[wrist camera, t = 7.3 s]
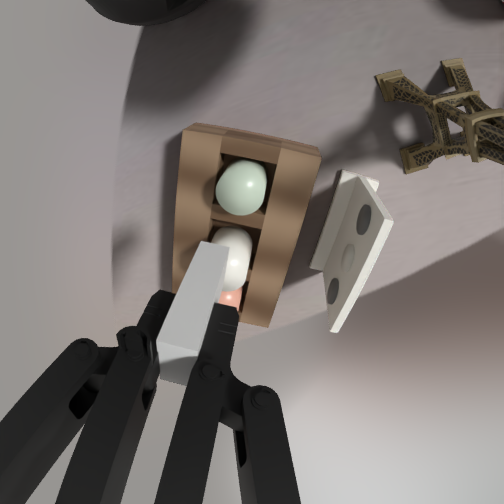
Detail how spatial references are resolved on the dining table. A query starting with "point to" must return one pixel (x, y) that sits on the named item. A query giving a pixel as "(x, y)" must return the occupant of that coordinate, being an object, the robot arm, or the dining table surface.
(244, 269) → the white rounded cylinder
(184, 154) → the brown wooden tray
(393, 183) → the dining table surface
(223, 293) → the peach rounded capsule
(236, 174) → the pale green rounded piece
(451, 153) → the eiffel tower
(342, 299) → the pattern card
